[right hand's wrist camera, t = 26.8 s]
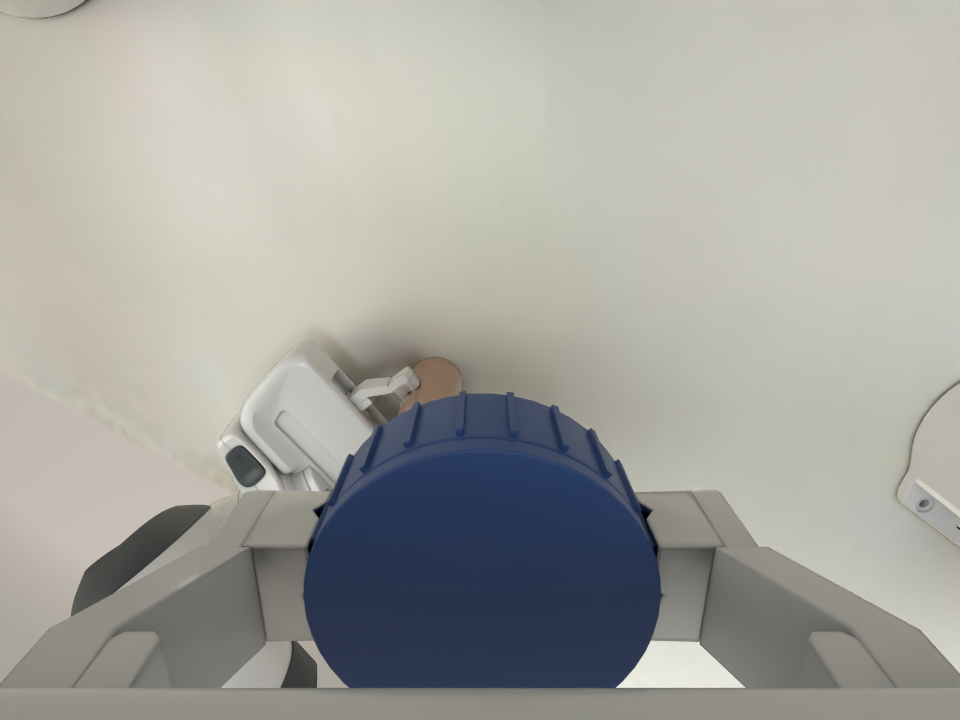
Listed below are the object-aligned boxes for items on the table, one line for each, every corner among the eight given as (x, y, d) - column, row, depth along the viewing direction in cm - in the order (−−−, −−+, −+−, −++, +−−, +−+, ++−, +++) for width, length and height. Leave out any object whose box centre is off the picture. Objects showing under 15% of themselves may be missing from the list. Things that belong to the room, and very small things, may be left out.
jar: (400, 393, 51) (363, 509, 35) (422, 348, 50) (394, 447, 34) (448, 414, 52) (433, 538, 36) (471, 371, 50) (466, 479, 34)
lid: (693, 465, 10) (740, 537, 8) (543, 680, 12) (555, 779, 10) (403, 333, 9) (384, 380, 7) (287, 584, 11) (249, 672, 9)
